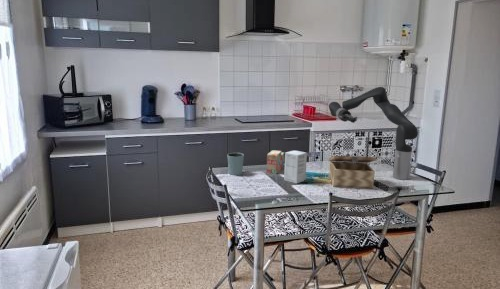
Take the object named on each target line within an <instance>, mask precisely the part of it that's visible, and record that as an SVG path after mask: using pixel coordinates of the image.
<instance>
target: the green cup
mask: <svg viewBox="0 0 500 289" xmlns="http://www.w3.org/2000/svg"><path fill="white" fill-rule="evenodd" d="M244 159H245V154H244V153H243V152H242V153H241V152H230V153H227V169H228V170H227V173H228V174H229V175H231V176H241V175H243V170H244V168H243V167H244Z"/></svg>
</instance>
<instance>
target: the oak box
mask: <svg viewBox="0 0 500 289" xmlns="http://www.w3.org/2000/svg"><path fill="white" fill-rule="evenodd" d="M328 170H329V171H328V179H329V178H330V179H329V181H330V180H331V181H330V183H331V182H332V183H331V185H333V186H332V187H333V188H347V189H348V188H349V189H366V190H367V189H369V190H372V189H374V183H375V182H374V181H375V170H374V169H373V167H371V166H370V165H369V163H362V162H340V161H329V168H328Z"/></svg>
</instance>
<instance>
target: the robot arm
mask: <svg viewBox="0 0 500 289" xmlns="http://www.w3.org/2000/svg"><path fill="white" fill-rule="evenodd" d="M371 98H372V100H373V102H374V104H375V105H376V106H377V107H378V108H380V109H381V111H382V113H383V114H384V116H385V117H386V119H387V120H388V121H389V122H391V123H393V124H395V125H396V126H397V127H396V131H395V151H394V152H395V153H394V160H393V161H394V162H393V170H392V177H393V179H397V180H402V181H403V180H410V179H411V174H412V173H411V171H412V163H411V160H412V153H413V146H412V145H410V144H407V143H406V141H408V140H415V139H416V138H418V135H419V132H418V128H417V126H416V125H415V124H414V123H413V122H412V121H410V119H408V118H407V116H405V114H404V113H403V111H402V110H401V109H400V108H399V107H398V106H397V105H396V104H394V103H391V102H390V100H389V99H388V93H387V91H386V88H385V87H384V86H377V87H375V88H372V89H370V90H368V91H366V92H364V93H362V94H360V95H358V96H356V97H355V96H354V97H353V98H349V99H347V100H343V101H342V102H341V103H342V106H341V104H340V103H338V102H337V101H331V102H329V105H328V109H329V112H330V115H331V116H332V117H335V118H336V117H337V118H338V119H339V120H340V121H342V122H346V123H347V122H351V123H353V124H354V123H356V122H357V120H358V117H357V116H352V113H351V112H350V111H351V110H353V109H356V108H358V107H359V106H360V105H362V103H364V102H365V101H367V100H368V99H371Z"/></svg>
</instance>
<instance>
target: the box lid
mask: <svg viewBox="0 0 500 289" xmlns="http://www.w3.org/2000/svg"><path fill="white" fill-rule="evenodd" d="M375 161H377V157H372V156H371V157H369V156H350V155H349V156H347V155H332V156H331V157H329V158H328V162H351V163H367V164H369V163H372V162H375Z"/></svg>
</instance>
